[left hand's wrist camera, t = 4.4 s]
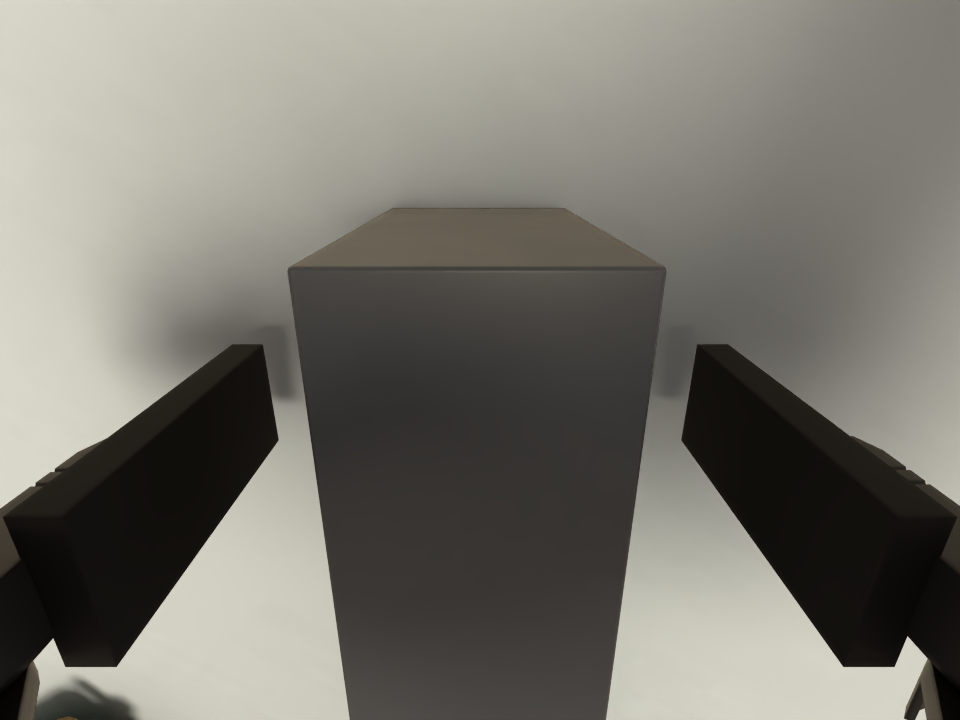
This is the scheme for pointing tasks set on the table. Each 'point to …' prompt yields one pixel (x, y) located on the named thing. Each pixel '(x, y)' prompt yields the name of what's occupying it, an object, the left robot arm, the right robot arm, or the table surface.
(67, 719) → the spray gun
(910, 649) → the table surface
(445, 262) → the beam
